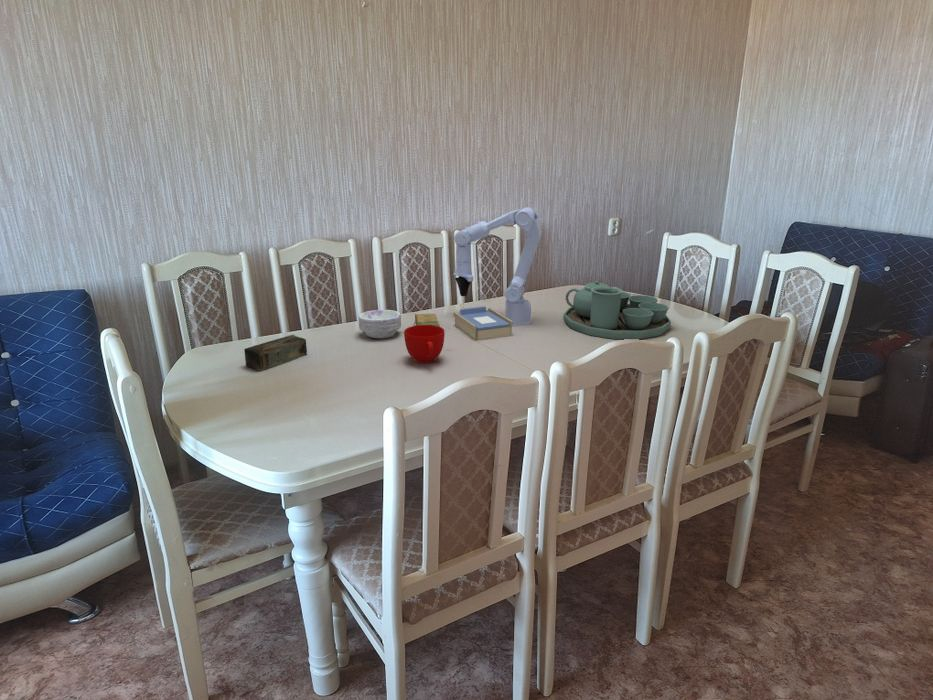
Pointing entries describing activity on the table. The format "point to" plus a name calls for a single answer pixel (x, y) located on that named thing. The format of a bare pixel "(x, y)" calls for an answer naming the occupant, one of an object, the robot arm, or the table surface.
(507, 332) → the beige shallow box
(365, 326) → the paper bowls
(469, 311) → the lid
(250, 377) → the table surface
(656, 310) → the tea set
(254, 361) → the dark brown block
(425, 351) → the ceramic cup
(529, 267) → the robot arm
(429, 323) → the carton
